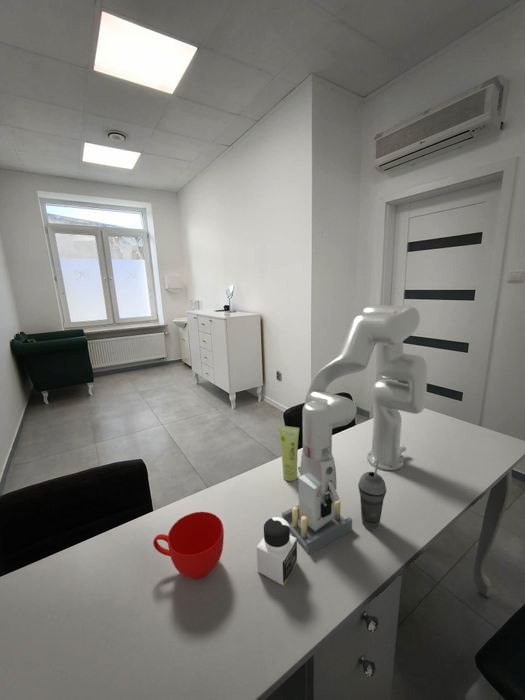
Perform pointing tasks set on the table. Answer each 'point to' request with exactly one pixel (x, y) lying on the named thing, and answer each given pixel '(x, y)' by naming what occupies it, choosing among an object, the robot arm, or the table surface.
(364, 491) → the beverage cup
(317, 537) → the pin tray
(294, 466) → the tube
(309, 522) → the small box
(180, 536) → the ceramic cup
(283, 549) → the medicine bottle
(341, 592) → the table surface
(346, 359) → the robot arm
